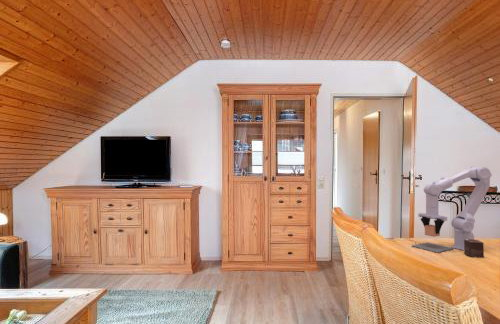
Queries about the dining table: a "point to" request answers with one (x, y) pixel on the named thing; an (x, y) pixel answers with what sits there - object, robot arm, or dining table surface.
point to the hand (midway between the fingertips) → (432, 232)
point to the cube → (431, 230)
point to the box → (473, 248)
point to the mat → (433, 247)
